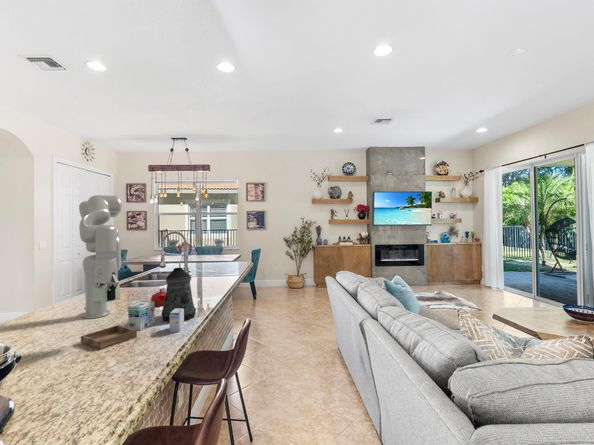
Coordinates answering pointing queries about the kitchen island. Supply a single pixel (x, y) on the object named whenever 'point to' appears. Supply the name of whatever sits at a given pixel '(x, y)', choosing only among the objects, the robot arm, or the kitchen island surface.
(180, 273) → the beer stein
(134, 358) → the kitchen island surface
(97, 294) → the small crate
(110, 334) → the crate
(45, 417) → the kitchen island surface
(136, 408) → the kitchen island surface
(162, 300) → the pomegranate
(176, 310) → the medicine box
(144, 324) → the light bulb box
